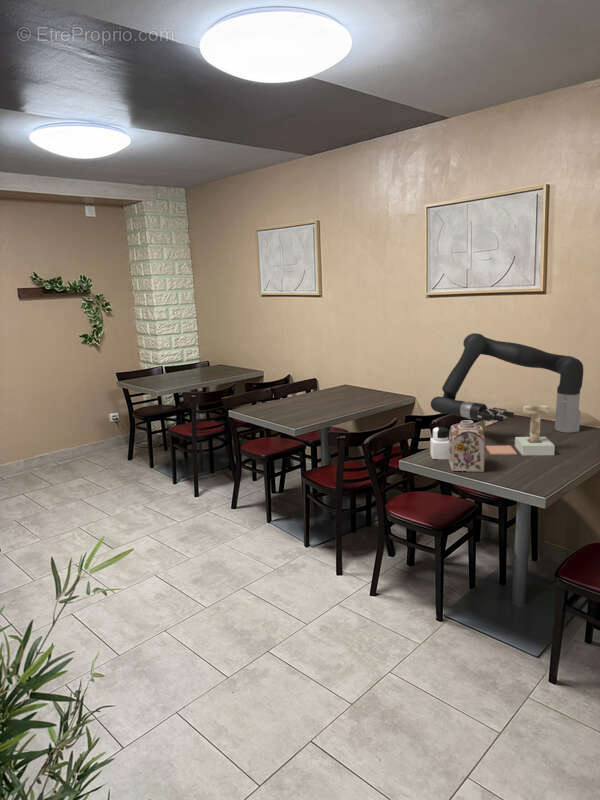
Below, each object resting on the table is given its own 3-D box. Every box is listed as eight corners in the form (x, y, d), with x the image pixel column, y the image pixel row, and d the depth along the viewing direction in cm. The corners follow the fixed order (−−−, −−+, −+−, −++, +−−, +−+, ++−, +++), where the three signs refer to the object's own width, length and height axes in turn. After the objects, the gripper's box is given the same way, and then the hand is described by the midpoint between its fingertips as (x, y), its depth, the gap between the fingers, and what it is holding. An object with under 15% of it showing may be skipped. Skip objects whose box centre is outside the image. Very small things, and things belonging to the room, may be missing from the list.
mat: (510, 446, 231) (510, 445, 231) (516, 454, 221) (516, 453, 221) (485, 447, 232) (485, 445, 232) (490, 454, 222) (490, 453, 222)
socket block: (544, 445, 230) (545, 436, 229) (554, 455, 218) (554, 445, 218) (514, 446, 232) (515, 436, 231) (522, 455, 220) (522, 445, 219)
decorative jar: (484, 472, 204) (485, 425, 200) (451, 472, 206) (452, 425, 202) (479, 461, 215) (480, 417, 211) (448, 461, 217) (449, 417, 213)
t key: (544, 449, 226) (546, 405, 222) (546, 451, 223) (548, 407, 219) (521, 449, 227) (523, 405, 223) (523, 451, 224) (525, 407, 220)
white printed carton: (448, 453, 226) (448, 425, 224) (450, 459, 219) (451, 430, 217) (430, 454, 227) (430, 425, 224) (432, 459, 220) (432, 430, 217)
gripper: (464, 405, 237) (500, 411, 225) (482, 399, 246) (517, 405, 234) (464, 422, 238) (499, 429, 227) (481, 416, 248) (516, 422, 236)
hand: (508, 417), depth 230 cm, fingers open, 8 cm apart
